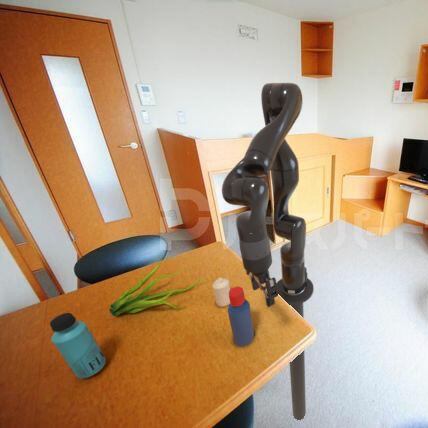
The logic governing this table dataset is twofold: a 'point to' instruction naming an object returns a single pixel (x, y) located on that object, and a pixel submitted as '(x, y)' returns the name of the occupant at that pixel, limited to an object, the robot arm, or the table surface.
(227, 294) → the candle
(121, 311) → the decorative plant
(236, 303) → the cap
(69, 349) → the beverage bottle
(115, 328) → the table surface
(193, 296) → the table surface
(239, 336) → the water bottle
